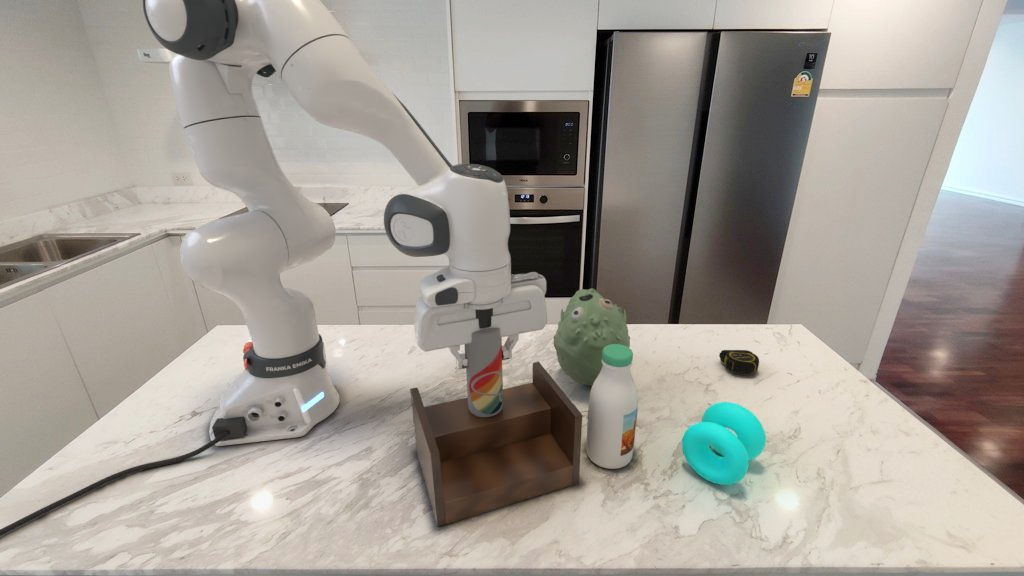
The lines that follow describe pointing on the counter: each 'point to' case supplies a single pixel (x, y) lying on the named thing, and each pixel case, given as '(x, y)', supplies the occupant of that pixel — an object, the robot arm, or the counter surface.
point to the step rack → (497, 449)
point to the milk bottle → (612, 410)
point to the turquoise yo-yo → (724, 443)
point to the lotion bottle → (485, 368)
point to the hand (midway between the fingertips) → (484, 362)
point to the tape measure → (740, 361)
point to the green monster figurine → (588, 334)
